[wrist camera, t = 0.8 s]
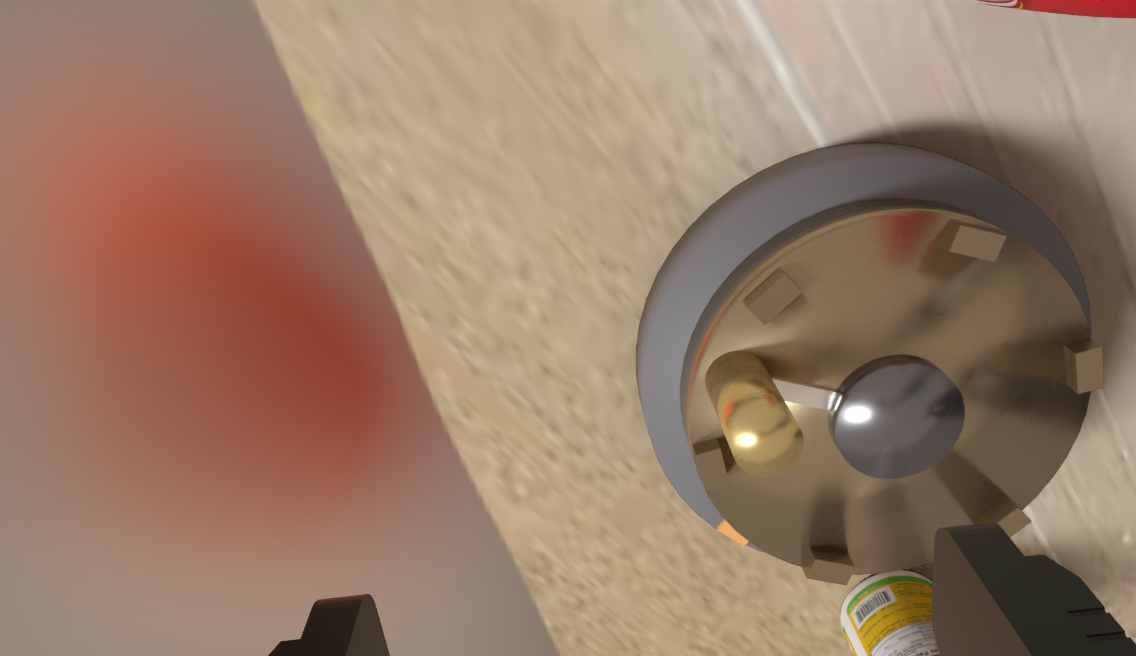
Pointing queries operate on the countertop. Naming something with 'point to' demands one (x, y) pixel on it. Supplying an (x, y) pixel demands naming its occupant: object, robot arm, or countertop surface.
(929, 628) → the supplement bottle
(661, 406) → the grey plate
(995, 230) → the bronze domed disc
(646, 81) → the countertop surface
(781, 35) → the countertop surface
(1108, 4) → the soda can
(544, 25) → the countertop surface
